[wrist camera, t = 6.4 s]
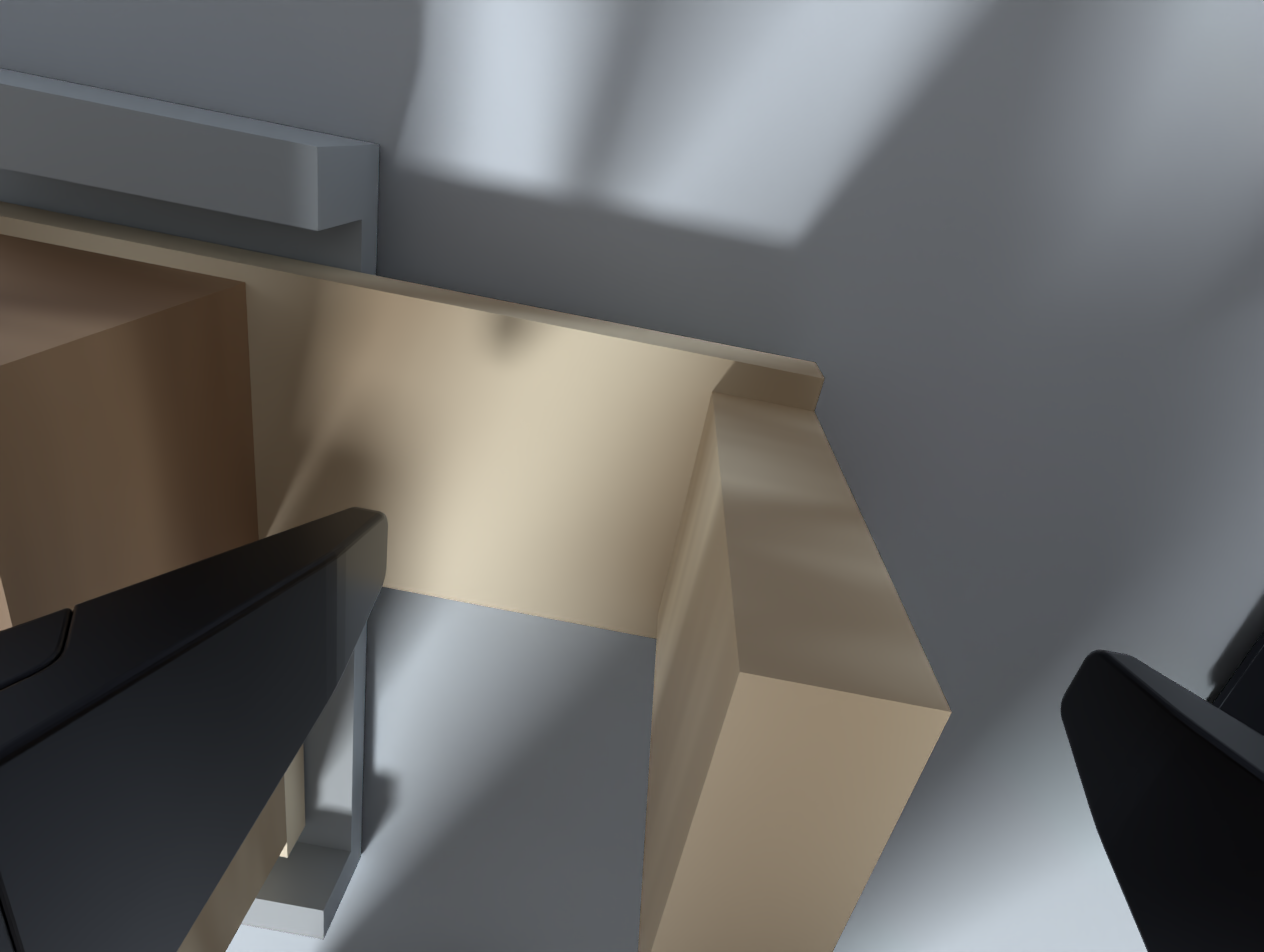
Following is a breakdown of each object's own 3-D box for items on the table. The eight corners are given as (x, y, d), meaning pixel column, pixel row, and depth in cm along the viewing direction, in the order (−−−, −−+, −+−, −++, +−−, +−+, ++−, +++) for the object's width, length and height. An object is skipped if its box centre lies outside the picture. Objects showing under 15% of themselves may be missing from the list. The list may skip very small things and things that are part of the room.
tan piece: (815, 361, 11) (978, 657, 5) (735, 625, 13) (779, 1061, 7) (-44, 192, 11) (-1017, 274, 5) (18, 488, 13) (-587, 811, 7)
